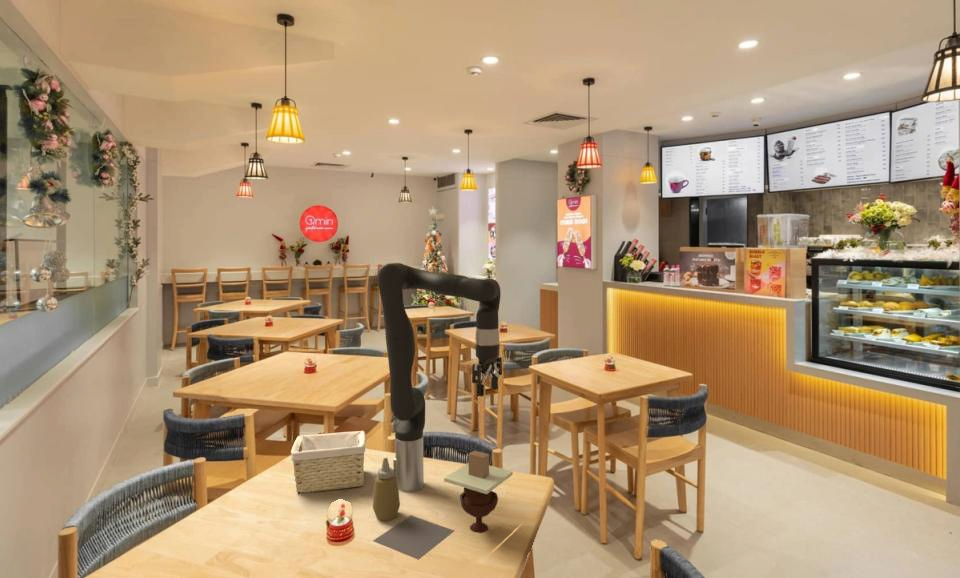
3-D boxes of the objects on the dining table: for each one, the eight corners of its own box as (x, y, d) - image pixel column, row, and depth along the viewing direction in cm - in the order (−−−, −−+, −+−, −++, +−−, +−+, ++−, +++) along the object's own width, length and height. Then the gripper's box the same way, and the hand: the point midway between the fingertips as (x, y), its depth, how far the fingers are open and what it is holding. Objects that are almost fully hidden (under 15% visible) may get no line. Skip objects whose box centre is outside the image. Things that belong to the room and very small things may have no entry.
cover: (444, 481, 145) (444, 457, 144) (471, 464, 156) (471, 441, 156) (486, 494, 137) (486, 468, 137) (512, 474, 149) (512, 451, 148)
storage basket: (291, 496, 169) (289, 452, 167) (298, 475, 184) (296, 434, 183) (366, 489, 173) (365, 446, 172) (366, 468, 189) (366, 429, 188)
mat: (372, 542, 142) (372, 540, 142) (410, 516, 155) (410, 515, 155) (418, 560, 133) (418, 559, 133) (454, 532, 147) (454, 530, 146)
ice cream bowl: (495, 541, 142) (494, 488, 141) (455, 537, 144) (454, 484, 143) (501, 521, 152) (501, 471, 151) (464, 517, 154) (463, 468, 153)
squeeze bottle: (405, 512, 157) (404, 455, 156) (392, 526, 150) (390, 465, 148) (381, 508, 160) (380, 451, 159) (367, 521, 152) (366, 462, 151)
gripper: (489, 337, 171) (489, 386, 173) (464, 344, 159) (465, 396, 161) (508, 339, 167) (509, 389, 169) (485, 347, 155) (485, 400, 157)
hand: (487, 392), depth 165 cm, fingers open, 8 cm apart
